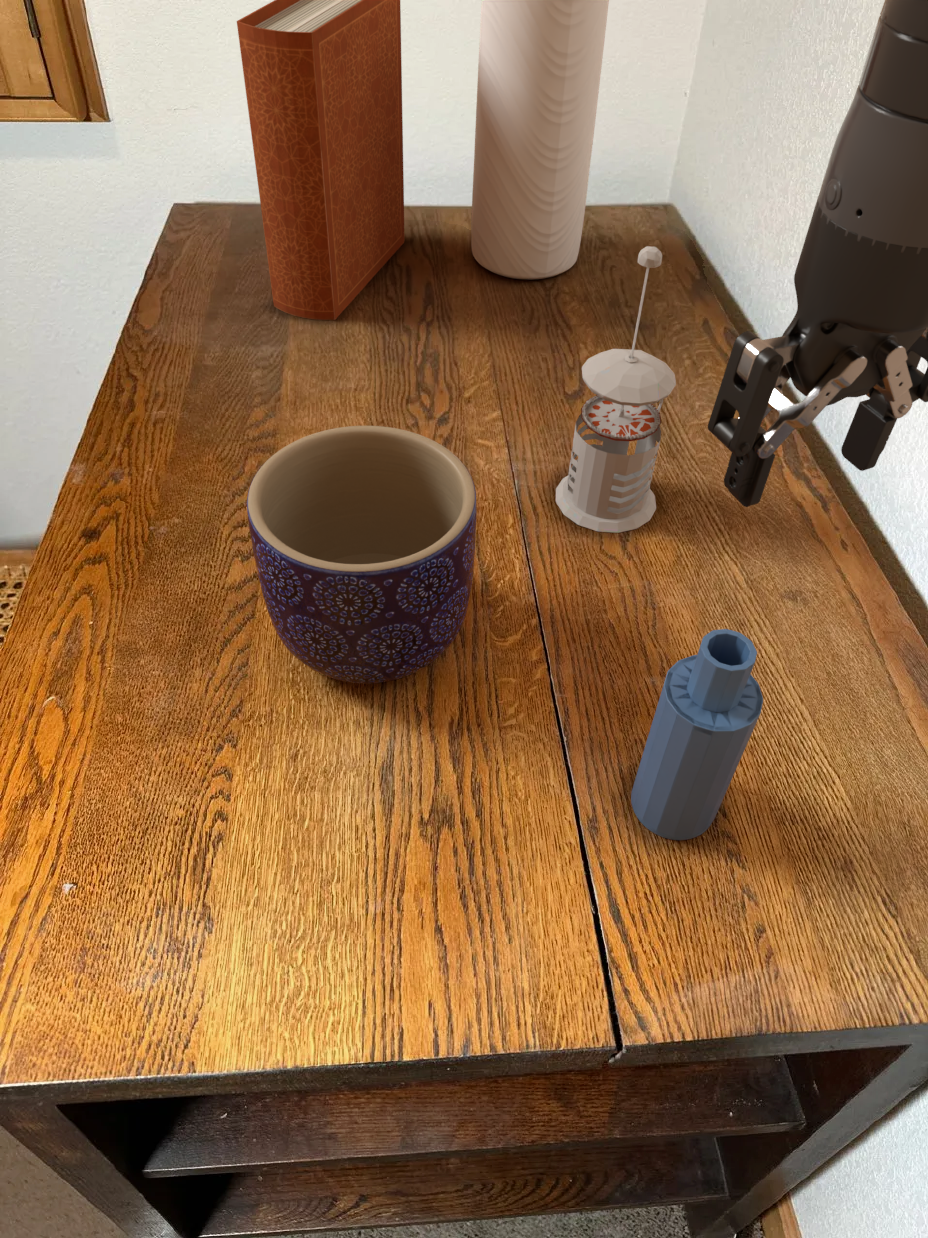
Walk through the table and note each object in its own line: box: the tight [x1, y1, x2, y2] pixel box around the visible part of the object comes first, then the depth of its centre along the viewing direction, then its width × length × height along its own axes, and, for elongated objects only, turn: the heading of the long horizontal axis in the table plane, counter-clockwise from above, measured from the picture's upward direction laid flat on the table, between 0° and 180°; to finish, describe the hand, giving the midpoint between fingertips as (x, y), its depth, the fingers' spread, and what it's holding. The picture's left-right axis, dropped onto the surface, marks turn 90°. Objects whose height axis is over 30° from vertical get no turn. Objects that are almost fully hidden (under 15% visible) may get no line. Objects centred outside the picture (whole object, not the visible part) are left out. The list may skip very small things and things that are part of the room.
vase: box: [470, 0, 610, 281], centre depth 112 cm, size 14×14×32 cm
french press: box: [555, 245, 677, 534], centre depth 81 cm, size 10×12×25 cm
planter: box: [246, 425, 478, 685], centre depth 72 cm, size 17×17×15 cm
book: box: [236, 0, 406, 321], centre depth 107 cm, size 23×8×30 cm, turn 160°
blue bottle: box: [630, 628, 764, 841], centre depth 61 cm, size 6×6×17 cm
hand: (800, 479), depth 55 cm, fingers open, 8 cm apart
